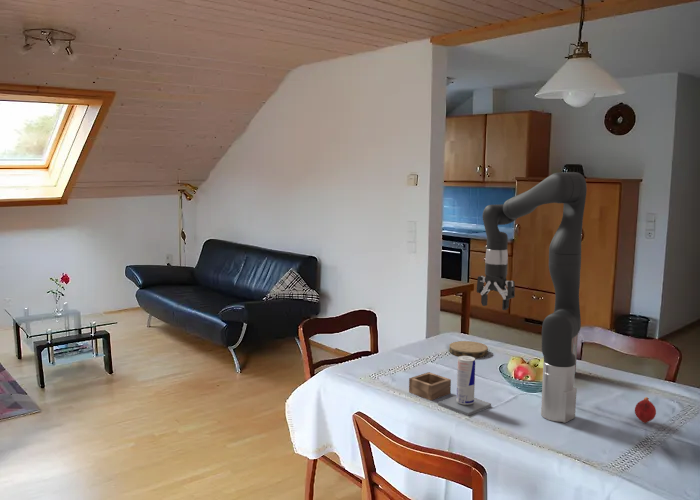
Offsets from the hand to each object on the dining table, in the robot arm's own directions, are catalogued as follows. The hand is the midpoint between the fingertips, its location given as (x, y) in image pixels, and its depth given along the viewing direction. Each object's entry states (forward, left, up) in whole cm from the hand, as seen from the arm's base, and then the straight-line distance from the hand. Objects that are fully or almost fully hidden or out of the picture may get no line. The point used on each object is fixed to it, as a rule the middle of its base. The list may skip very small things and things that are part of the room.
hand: (494, 307), depth 213 cm
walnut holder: (+9, +23, -28) cm, 37 cm away
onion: (-50, -8, -28) cm, 58 cm away
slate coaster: (-6, +23, -28) cm, 37 cm away
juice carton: (-10, -32, -28) cm, 44 cm away
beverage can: (-6, +23, -27) cm, 36 cm away
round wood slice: (+30, -25, -29) cm, 48 cm away
